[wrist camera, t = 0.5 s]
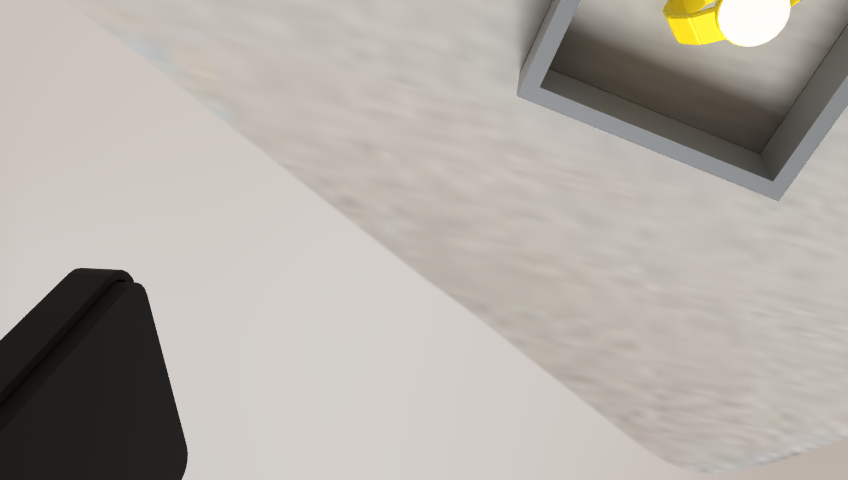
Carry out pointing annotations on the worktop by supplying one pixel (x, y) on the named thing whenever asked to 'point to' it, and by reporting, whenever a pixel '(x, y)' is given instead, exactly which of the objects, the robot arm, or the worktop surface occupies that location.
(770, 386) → the worktop surface
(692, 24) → the watch
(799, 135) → the bin
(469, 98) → the worktop surface
